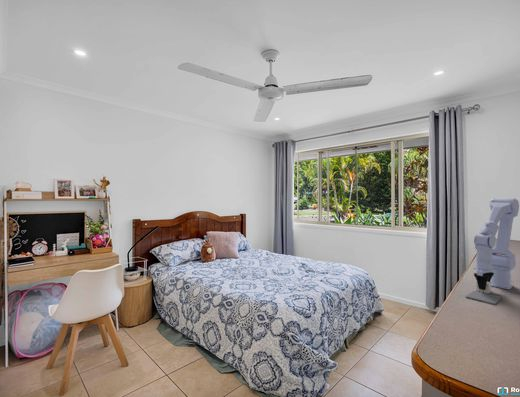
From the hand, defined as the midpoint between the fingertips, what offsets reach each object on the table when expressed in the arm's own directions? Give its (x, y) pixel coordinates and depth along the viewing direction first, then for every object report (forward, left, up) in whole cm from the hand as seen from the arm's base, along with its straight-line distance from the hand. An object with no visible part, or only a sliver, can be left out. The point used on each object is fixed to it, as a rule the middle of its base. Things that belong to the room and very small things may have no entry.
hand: (483, 288), depth 128 cm
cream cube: (0, 0, -2) cm, 2 cm away
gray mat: (+11, +2, -1) cm, 11 cm away
